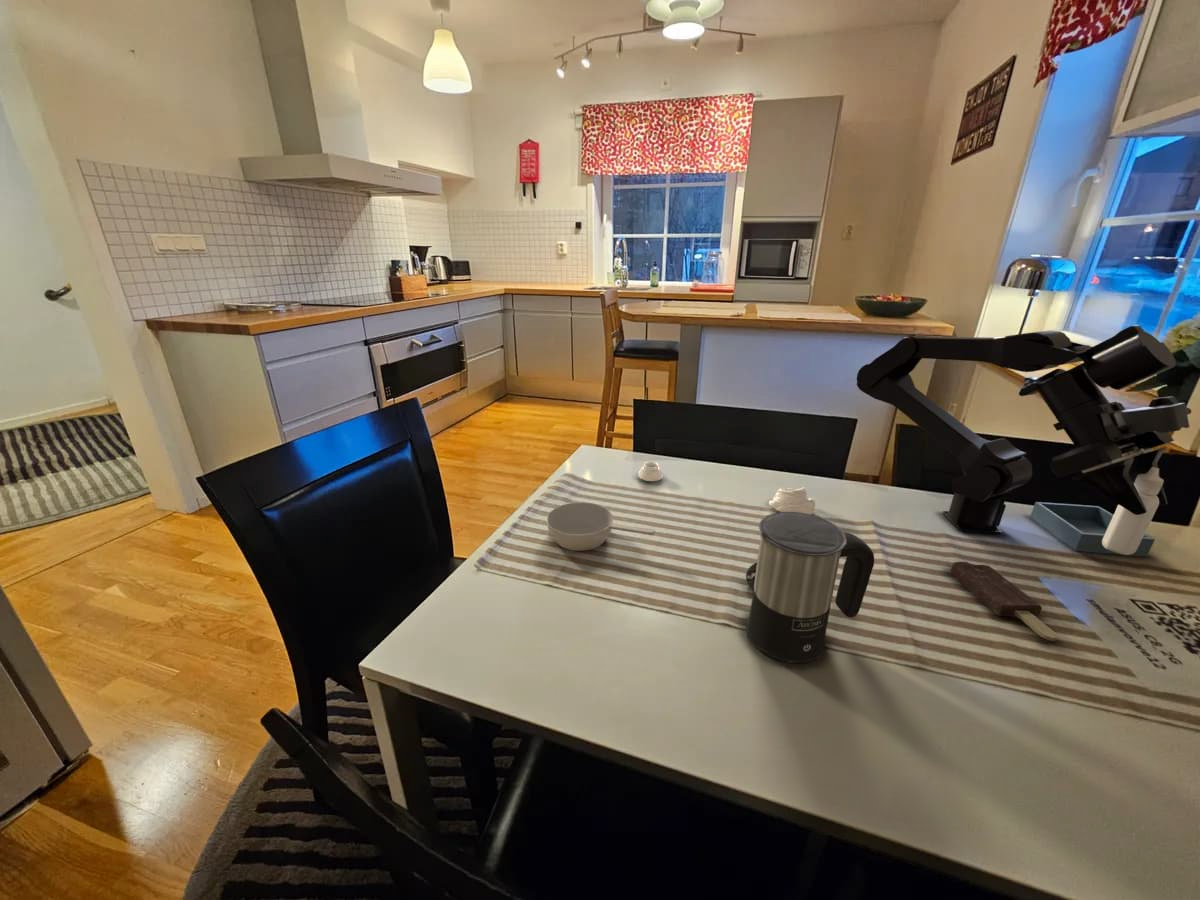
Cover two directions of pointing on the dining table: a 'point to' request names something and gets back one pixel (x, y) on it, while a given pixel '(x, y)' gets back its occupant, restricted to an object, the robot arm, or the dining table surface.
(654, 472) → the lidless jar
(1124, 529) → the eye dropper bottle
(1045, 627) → the ice cream bar
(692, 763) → the dining table surface
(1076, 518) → the blue-grey tray
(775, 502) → the whipped cream
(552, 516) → the small pan
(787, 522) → the milk frother
